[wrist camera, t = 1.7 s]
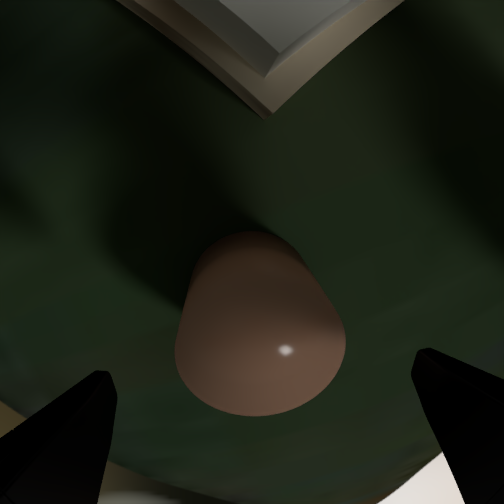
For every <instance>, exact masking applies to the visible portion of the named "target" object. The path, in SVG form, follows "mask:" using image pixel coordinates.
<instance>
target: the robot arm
mask: <svg viewBox="0 0 504 504" xmlns="http://www.w3.org/2000/svg"><path fill="white" fill-rule="evenodd" d="M411 377H412V380H413V383H414V385H415V388H416V391H417V393H418V396H419V399H420V402H421V404H422V407H423V410H424V412H425V415H426V417H427V420H428V422H429V424H430V426H431V428H432V430H433V432H434V434H435V436H436V439H437V441H438V443H439V445H440V447H441V449H442V451H443V454H444V456H445V458H446V460H447V462H448V465H449V467H450V469H451V472H452V474H453V476H454V478H455V481H456V483H457V485H458V488H459V490H460V493H461V495H462V498H463V500H464V502H465V504H504V379H501V378H499V377H497V376H494V375H492V374H490V373H487V372H485V371H483V370H480V369H478V368H476V367H473V366H471V365H469V364H467V363H464V362H462V361H460V360H457V359H455V358H453V357H450V356H448V355H446V354H444V353H441V352H439V351H437V350H434V349H432V348H425V349H420V350H419V351H418V352H417V354H416V357H415V360H414V364H413V367H412V371H411ZM116 405H117V392H116V389H115V386H114V383H113V380H112V377H111V374H110V373H109V372H108V371H99V370H97V371H94V372H93V373H91V374H90V375H88V376H87V377H86V378H84V379H83V380H81V381H80V382H79V383H77V384H76V385H74V386H73V387H72V388H70V389H69V390H67V391H66V392H65V393H63V394H62V395H60V396H59V397H58V398H56V399H55V400H53V401H52V402H51V403H49V404H48V405H46V406H45V407H44V408H42V409H41V410H39V411H38V412H36V413H35V414H34V415H32V416H31V417H29V418H28V419H27V420H25V421H24V422H22V423H21V424H20V425H18V426H17V427H16V428H14V431H13V430H11V431H10V432H8V433H7V434H5V435H4V436H3V437H1V438H0V504H97V502H98V498H99V492H100V488H101V484H102V479H103V475H104V471H105V466H106V462H107V458H108V454H109V450H110V446H111V440H112V434H113V426H114V419H115V412H116Z"/></svg>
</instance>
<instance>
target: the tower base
mask: <svg viewBox="0 0 504 504" xmlns="http://www.w3.org/2000/svg"><path fill="white" fill-rule="evenodd" d="M116 1H118V2H119V3H121V4H122V5H124V6H125V7H126V8H128V9H129V10H131V11H132V12H134V13H135V14H136V15H138V16H139V17H141V18H142V19H143V20H145V21H146V22H148V23H149V24H150V25H152V26H153V27H154V28H156V29H157V30H158V31H160V32H161V33H162V34H164V35H165V36H166V37H168V38H169V39H170V40H171V41H173V42H174V43H175V44H177V45H178V46H179V47H180V48H182V49H183V50H184V51H185V52H187V53H188V54H189V55H190V56H192V57H193V58H194V59H195V60H196V61H198V62H199V63H200V64H201V65H203V66H204V67H205V68H206V69H207V70H209V71H210V72H211V73H212V74H213V75H214V76H216V77H217V78H218V79H219V80H220V81H221V82H223V83H224V84H225V85H226V86H227V87H228V88H229V89H231V90H232V91H233V92H234V93H235V94H236V95H237V96H238V97H240V98H241V99H242V100H243V101H244V102H245V103H246V104H247V105H248V106H249V107H251V108H252V109H253V110H254V111H255V112H256V113H257V114H258V115H259V116H260V117H261V118H262V119H263V120H265V119H266V118H268V117H269V116H270V115H272V114H273V113H274V112H275V111H276V110H277V109H278V108H279V107H280V106H281V105H282V104H283V103H284V102H285V101H287V100H288V99H289V98H290V97H291V96H292V95H293V94H294V93H295V92H296V91H297V90H298V89H299V88H300V87H302V86H303V85H304V84H305V83H306V82H307V81H308V80H309V79H310V78H311V77H312V76H314V75H315V74H316V73H317V72H318V71H319V70H320V69H321V68H323V67H324V66H325V65H326V64H327V63H328V62H329V61H330V60H332V59H333V58H334V57H335V56H336V55H337V54H339V53H340V52H341V51H342V50H343V49H344V48H346V47H347V46H348V45H349V44H350V43H351V42H353V41H354V40H355V39H356V38H357V37H359V36H360V35H361V34H362V33H364V32H365V31H366V30H367V29H368V28H370V27H371V26H372V25H373V24H375V23H376V22H377V21H378V20H380V19H381V18H382V17H383V16H385V15H386V14H387V13H389V12H390V11H391V10H392V9H394V8H395V7H396V6H398V5H399V4H400V3H402V2H403V1H404V0H367V1H366V2H364V3H363V4H361V5H360V6H358V7H357V8H355V9H354V10H352V11H351V12H349V13H348V14H346V15H345V16H344V17H342V18H341V19H339V20H338V21H337V22H335V23H334V24H332V25H331V26H330V27H328V28H327V29H326V30H324V31H323V32H322V33H320V34H319V35H318V36H316V37H315V38H314V39H312V40H311V41H310V42H308V43H307V44H306V45H305V46H303V47H302V48H301V49H300V50H298V51H297V52H296V53H294V54H293V55H292V56H291V57H290V58H288V59H287V60H286V61H285V62H283V63H282V64H281V65H280V66H279V67H277V68H276V69H275V70H274V71H273V72H271V73H270V74H269V75H268V76H267V77H266V78H264V77H263V76H262V75H261V74H260V73H259V72H258V71H256V70H255V69H254V68H253V67H252V66H251V65H250V64H249V63H248V62H247V61H246V60H245V59H244V58H242V57H241V56H240V55H239V54H238V53H237V52H236V51H235V50H234V49H232V48H231V47H230V46H229V45H228V44H227V43H226V42H224V41H223V40H222V39H221V38H220V37H219V36H217V35H216V34H215V33H214V32H213V31H212V30H210V29H209V28H208V27H207V26H206V25H204V24H203V23H202V22H201V21H199V20H198V19H197V18H196V17H194V16H193V15H192V14H191V13H189V12H188V11H187V10H186V9H184V8H183V7H182V6H180V5H179V4H178V3H176V2H175V1H174V0H116Z"/></svg>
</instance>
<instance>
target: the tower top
mask: <svg viewBox="0 0 504 504" xmlns="http://www.w3.org/2000/svg"><path fill="white" fill-rule="evenodd" d="M174 1H175V2H176V3H178V4H179V5H180V6H182V7H183V8H184V9H186V10H187V11H188V12H189V13H191V14H192V15H193V16H194V17H196V18H197V19H198V20H199V21H201V22H202V23H203V24H204V25H206V26H207V27H208V28H209V29H210V30H212V31H213V32H214V33H215V34H216V35H217V36H219V37H220V38H221V39H222V40H223V41H224V42H226V43H227V44H228V45H229V46H230V47H231V48H232V49H234V50H235V51H236V52H237V53H238V54H239V55H240V56H241V57H242V58H244V59H245V60H246V61H247V62H248V63H249V64H250V65H251V66H252V67H253V68H254V69H255V70H256V71H258V72H259V73H260V74H261V75H262V76H263V77H264V78H266V77H267V76H268V75H269V74H270V73H271V72H273V71H274V70H275V69H276V68H277V67H279V66H280V65H281V64H282V63H283V62H285V61H286V60H287V59H288V58H290V57H291V56H292V55H293V54H294V53H296V52H297V51H298V50H300V49H301V48H302V47H303V46H305V45H306V44H307V43H308V42H310V41H311V40H312V39H314V38H315V37H316V36H318V35H319V34H320V33H322V32H323V31H324V30H326V29H327V28H328V27H330V26H331V25H332V24H334V23H335V22H337V21H338V20H339V19H341V18H342V17H344V16H345V15H346V14H348V13H349V12H351V11H352V10H354V9H355V8H357V7H358V6H360V5H361V4H363V3H364V2H366V1H367V0H174Z"/></svg>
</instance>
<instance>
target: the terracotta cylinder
mask: <svg viewBox="0 0 504 504" xmlns="http://www.w3.org/2000/svg"><path fill="white" fill-rule="evenodd" d="M345 344H346V340H345V331H344V327H343V323H342V321H341V319H340V317H339V315H338V313H337V312H336V310H335V308H334V307H333V305H332V304H331V302H330V301H329V299H328V297H327V296H326V294H325V293H324V291H323V290H322V288H321V286H320V285H319V283H318V282H317V280H316V279H315V277H314V276H313V274H312V273H311V271H310V269H309V268H308V266H307V265H306V263H305V262H304V260H303V259H302V257H301V256H300V254H299V253H298V252H297V251H296V250H295V248H294V247H293V246H291V245H290V244H289V243H288V242H286V241H285V240H283V239H281V238H279V237H277V236H275V235H272V234H269V233H265V232H259V231H245V232H238V233H234V234H231V235H228V236H225V237H223V238H221V239H219V240H218V241H216V242H215V243H213V244H212V245H211V246H210V247H208V248H207V249H206V250H205V251H204V253H203V254H202V255H201V256H200V258H199V259H198V261H197V263H196V265H195V267H194V269H193V272H192V276H191V280H190V284H189V288H188V292H187V296H186V300H185V304H184V308H183V312H182V316H181V320H180V325H179V329H178V333H177V337H176V342H175V362H176V365H177V369H178V372H179V374H180V376H181V378H182V380H183V381H184V383H185V384H186V386H187V387H188V388H189V389H190V391H191V392H192V393H193V394H195V395H196V396H197V397H198V398H199V399H201V400H202V401H203V402H205V403H206V404H208V405H210V406H212V407H214V408H216V409H219V410H221V411H224V412H228V413H232V414H237V415H243V416H265V415H273V414H277V413H282V412H285V411H288V410H291V409H293V408H296V407H298V406H300V405H302V404H304V403H306V402H308V401H309V400H311V399H312V398H314V397H315V396H316V395H318V394H319V393H320V392H321V391H322V390H323V389H324V388H325V387H326V386H327V385H328V384H329V383H330V382H331V380H332V379H333V378H334V376H335V375H336V373H337V371H338V369H339V368H340V365H341V363H342V360H343V357H344V352H345Z"/></svg>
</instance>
